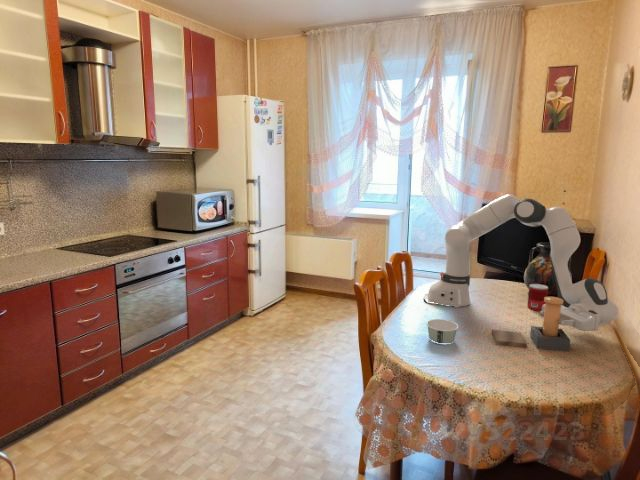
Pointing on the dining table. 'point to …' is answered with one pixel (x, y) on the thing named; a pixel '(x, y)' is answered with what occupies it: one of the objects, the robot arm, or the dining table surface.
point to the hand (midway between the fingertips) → (550, 318)
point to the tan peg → (551, 316)
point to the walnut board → (509, 338)
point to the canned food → (537, 296)
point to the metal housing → (549, 340)
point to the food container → (442, 330)
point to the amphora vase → (542, 269)
